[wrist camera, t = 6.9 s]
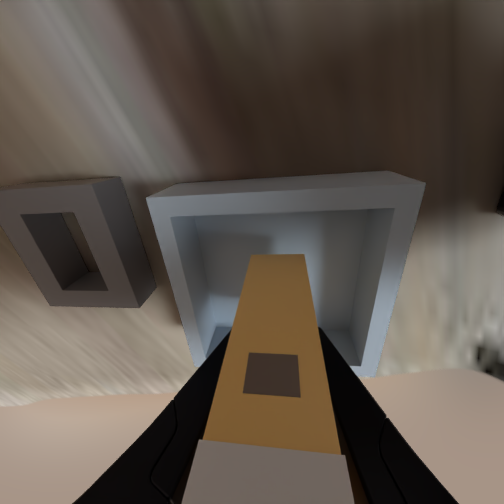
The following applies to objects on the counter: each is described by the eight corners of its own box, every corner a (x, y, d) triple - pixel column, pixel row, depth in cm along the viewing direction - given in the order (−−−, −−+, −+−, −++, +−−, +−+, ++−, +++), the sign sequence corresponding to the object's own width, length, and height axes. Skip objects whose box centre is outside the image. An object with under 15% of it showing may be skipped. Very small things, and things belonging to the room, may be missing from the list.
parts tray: (388, 170, 10) (426, 183, 7) (358, 333, 15) (374, 377, 12) (177, 183, 11) (145, 197, 9) (209, 328, 16) (194, 366, 13)
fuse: (305, 252, 10) (359, 531, 3) (303, 321, 12) (333, 594, 5) (250, 253, 10) (181, 503, 3) (256, 320, 12) (220, 572, 5)
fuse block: (120, 176, 12) (91, 184, 10) (156, 287, 15) (139, 307, 13) (22, 183, 12) (-21, 191, 11) (76, 286, 16) (50, 305, 14)
